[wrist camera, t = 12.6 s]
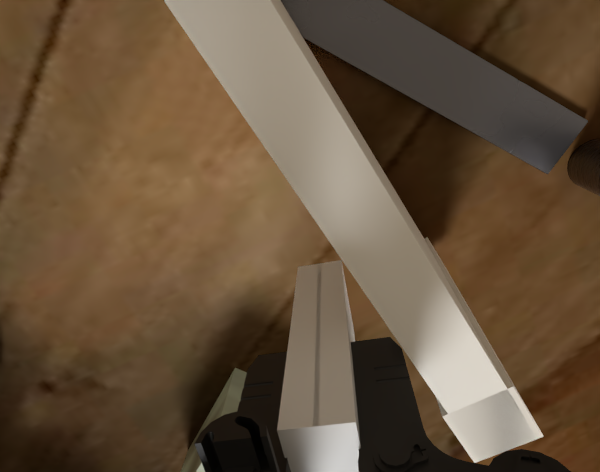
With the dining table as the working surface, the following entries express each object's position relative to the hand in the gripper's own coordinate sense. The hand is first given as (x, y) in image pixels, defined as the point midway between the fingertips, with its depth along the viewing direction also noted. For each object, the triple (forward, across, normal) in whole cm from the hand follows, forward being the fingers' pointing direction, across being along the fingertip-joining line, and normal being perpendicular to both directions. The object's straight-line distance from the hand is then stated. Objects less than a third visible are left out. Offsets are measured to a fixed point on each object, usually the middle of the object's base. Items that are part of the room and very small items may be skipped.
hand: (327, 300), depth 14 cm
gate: (+5, +2, +3) cm, 6 cm away
